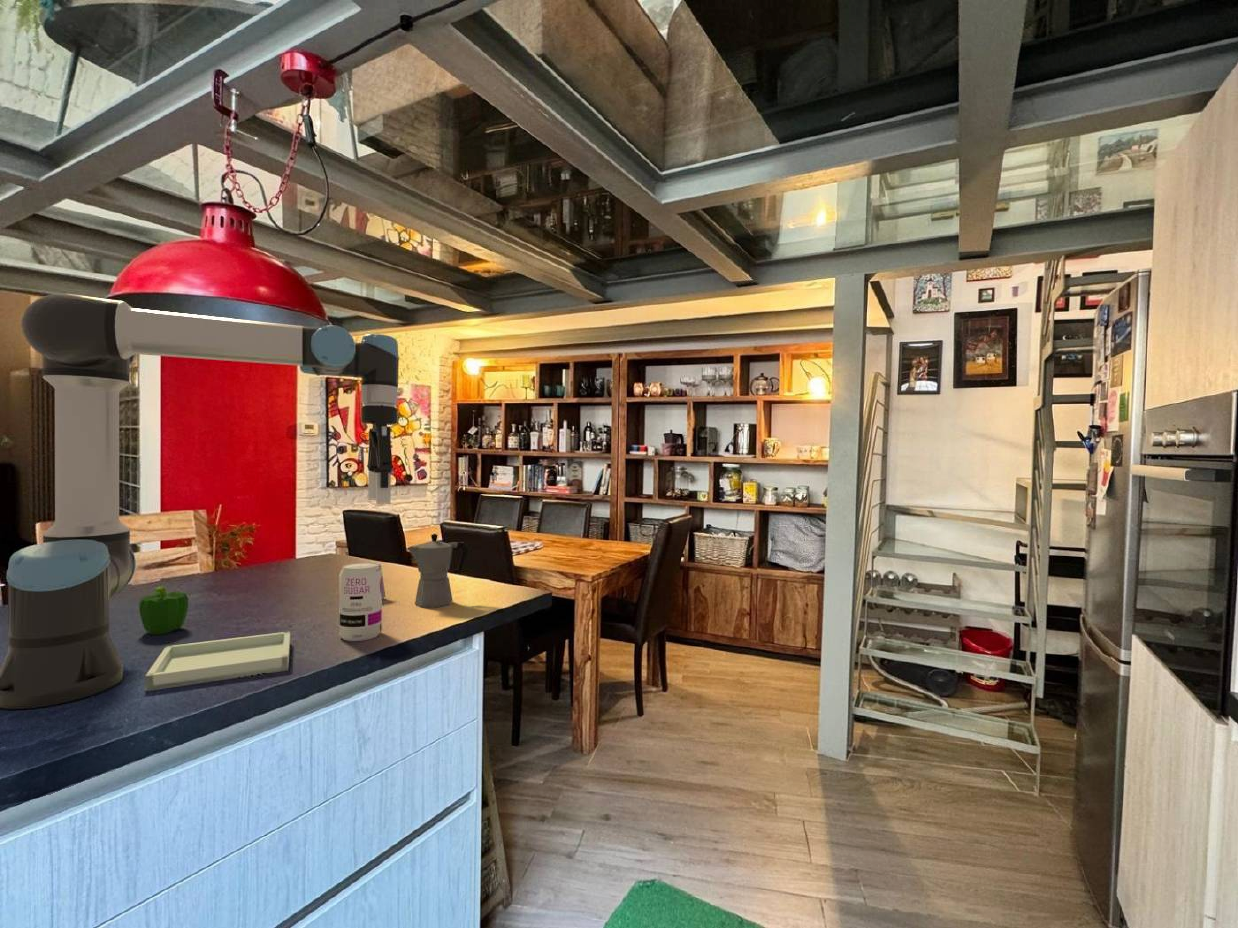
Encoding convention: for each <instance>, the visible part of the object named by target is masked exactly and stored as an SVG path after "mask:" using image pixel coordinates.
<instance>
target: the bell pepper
mask: <svg viewBox="0 0 1238 928" xmlns="http://www.w3.org/2000/svg"><path fill="white" fill-rule="evenodd" d="M138 604H139V605H138V606H139V614H140V618H141V619H140V620H141V623H142V625H143V626H142V627H143V628H144V630H145V631H146V632H147V633H149V634H151V635H164V634H168V633H171V632H173V631H175V630H179V629H182V626H183V625H184V623H185V620H186V617H187V614H188V609H189V597H188V595H187V593H185V592H184V593H183V592H181V591H178V590H177V591H176V590H175V591H172V592H169V593H167V590H166V588H165V587H164V586H158V587H156V588H155V590H154V593H152V594H150V595H145V596H141V598H140V599H139V603H138Z"/></svg>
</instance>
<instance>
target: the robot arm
mask: <svg viewBox="0 0 1238 928" xmlns="http://www.w3.org/2000/svg"><path fill="white" fill-rule="evenodd" d="M21 330H22V334H23V336H24V338H25V340H26V341H27V343H28V344H29V345H30V347H31V348H32V349H34V350H35V352H36V353H38V354H40V355H42V379H43V380H45V381H46V383H47V382H48V384H49V385H51V386H52V387H53V389H54V511H55V512H54V524H52V526H51V527H49V528H48V529H47V530H46V531H44V532H43V533H42V543H41V544H33V545H29V546H26V547H24V548H23V547H22V548H21V549H19V550H17V551H15V552H13V554H12V555H11V556H10V558H9V561H8V567H7V568H8V569H7V570H6V577H5V579H6V582H7V611H8V613H7V614H8V620H7V621H8V651H7V654H6V656H5V658H4V661H3V663H2V666H1V668H0V709H4V710H5V709H6V710H24V709H25V710H26V709H36V708H42V707H49V706H54V705H59V704H63V703H64V704H65V703H68V702H69V703H70V702H74V701H77V700H80V699H83V698H87V697H90V696H94V695H97V694H98V693H102V692H104V691H106V690H108V689H111V688H112V687H114V686H116V685H118V684H119V683H120V682H121V681H122V680H123V678H124V665H123V662H122V660H121V657H120V655H119V654H118V651H117V649H116V647H115V644H114V642H113V640H112V638H111V636H110V599H112V598H113V597H115V596H117V595H118V594H119V593H121V592H122V591H123V590H124V589H125V588H126V587H127V586H128V585H129V583H130V582H131V580H132V579H133V576H134V575H135V571H136V567H137V566H136V564H137V563H136V556H135V554H134V552H133V549H132V548H131V531H130V530H131V529H130V527H129V526H127V525H126V524H124V522H121V520H120V392H121V391H123V389H125V388H126V387H128V386H129V385H130V381H131V377H130V376H131V364H132V362H133V361H134V359H135V355H145V356H158V357H173V358H186V359H188V358H189V359H200V360H202V359H203V360H216V361H229V362H230V361H231V362H241V363H242V362H243V363H256V364H257V363H259V364H271V365H285V366H287V365H288V366H299V369H300V371H301V372H302V373H304V374H308V375H316V376H318V377H319V376H328V377H329V376H331V377H349V378H360V379H361V386H360V388H361V389H360V390H361V392H360V395H361V396H360V398H361V399H360V402H361V404H362V405H363V406H362V407H361V408H360V409H361V410H360V413H361V414H360V415H361V416H360V421H361V423H362V424H368V425H372V427H371V428H370V429H369V431H368V438H369V442H368V455H367V456H368V457H367V464H366V465H367V466H366V467H367V470H368V475H367V476H368V483H367V484H368V486H367V487H368V491H367V492H368V493H367V497H368V498H367V499H368V500H369V501H371V500H373V501H376V505H385V504H386V505H387V504H388V505H391V495H392V494H391V491H392V490H391V489H392V487H391V486H392V484H391V483H392V481H391V479H392V478H391V477H392V475H391V472H392V470H393V468H394V466H393V456H392V442H391V441H392V440H391V439H392V438H391V429H392V428H391V426H392V425H398V423H399V421H398V419H399V409H398V407H396V406H398V404H399V397H401V392H399V363H400V362H399V360H400V357H399V343H398V341H397V339H396V337H395V338H394V337H393V336H390V335H387V334H379V333H374V334H373V333H368V334H364V335H363V336H362V337H361V342H356V341H355V340H354V338H353V336H352V335H351V333H350V332H349V331H347V330H346V329H345V328H343V327H341V326H338V325H332V324H331V325H326V326H322V327H317V326H316V327H315V326H303V325H297V324H285V323H276V322H269V321H268V322H267V321H256V320H248V319H237V318H236V319H235V318H231V317H230V318H229V317H220V316H219V317H218V316H209V315H200V314H199V315H198V314H191V313H190V314H189V313H180V312H170V311H162V310H161V311H160V310H151V309H142V308H134V307H132V306H131V305H129V303H127V302H126V301H123V300H116V299H107V298H100V297H94V296H87V295H82V294H73V293H54V294H49V295H46V296H42V297H39V298H37V299H36V300H34V301H33V302H32V303H30V305H28V306H27V308H26V309H25V310H24V312H23V314H22V317H21ZM388 425H391V426H388Z"/></svg>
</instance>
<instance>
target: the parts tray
mask: <svg viewBox="0 0 1238 928" xmlns="http://www.w3.org/2000/svg"><path fill="white" fill-rule="evenodd" d="M290 650H291V631H282V632H275V633H274V632H273V633H267V634H258V635H257V634H255V635H250V636H243V637H242V636H241V637H233V638H224V639H216V640H207V641H200V642H199V641H198V642H193V643H192V642H190V643H183V644H174V645H166V646H164V648H163V650H161V651H162V652H160V655H158V657H157V659H156V660H155V661H154V663H153V664H152V665H151V667H150V669H148V671H147V673H146V674H145V676H144V678H145V679H144V685H145V686H144V690H145V692H151V691H158V690H165V689H171V688H177V687H184V686H191V685H198V684H204V683H213V682H218V681H224V680H225V681H226V680H232V679H238V677H240V678H246V677H252V676H251V675H253V676H258V675H257V674H260V675H263V674H262V673H267V674H271V673H272V674H273V673H280V672H286V671H289V666H290ZM245 676H246V677H245ZM212 681H213V682H212Z"/></svg>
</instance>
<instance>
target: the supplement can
mask: <svg viewBox="0 0 1238 928" xmlns="http://www.w3.org/2000/svg"><path fill="white" fill-rule="evenodd" d="M379 564H380V563H378V562H372V561H371V562H368V561H367V562H363V561H362V562H353V563H347V564H344V565H342V569H341V571H340V573H338V574H339V575H338V576H339V577H338V582H339V584H338V586H339V587H338V592H339V593H338V597H339V598H338V599H339V600H338V610H339V611H338V636H339V637H340V638H342V640H344V641H347V642H361V641H368V640H371V639H374V638H376V637H378V636H379V635H380V634H381V633H382V632H383V631H382V629H383V628H382V624H383V622H382V620H383V615H382V614H383V613H382V611H383V604H382V603H383V599H382V576H383V570H381V569H382V567H381V568H380V567H379Z"/></svg>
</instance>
